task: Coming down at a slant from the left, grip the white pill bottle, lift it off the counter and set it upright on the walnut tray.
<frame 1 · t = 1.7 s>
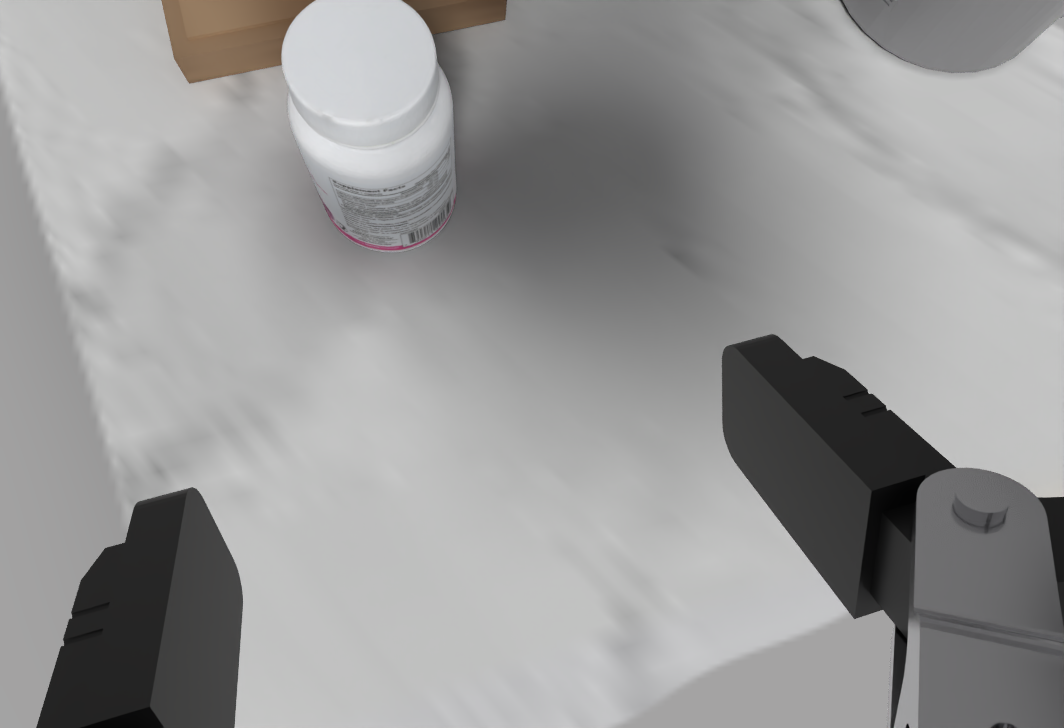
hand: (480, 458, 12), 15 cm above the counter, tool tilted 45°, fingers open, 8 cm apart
pill bottle: (391, 196, 29), on the counter
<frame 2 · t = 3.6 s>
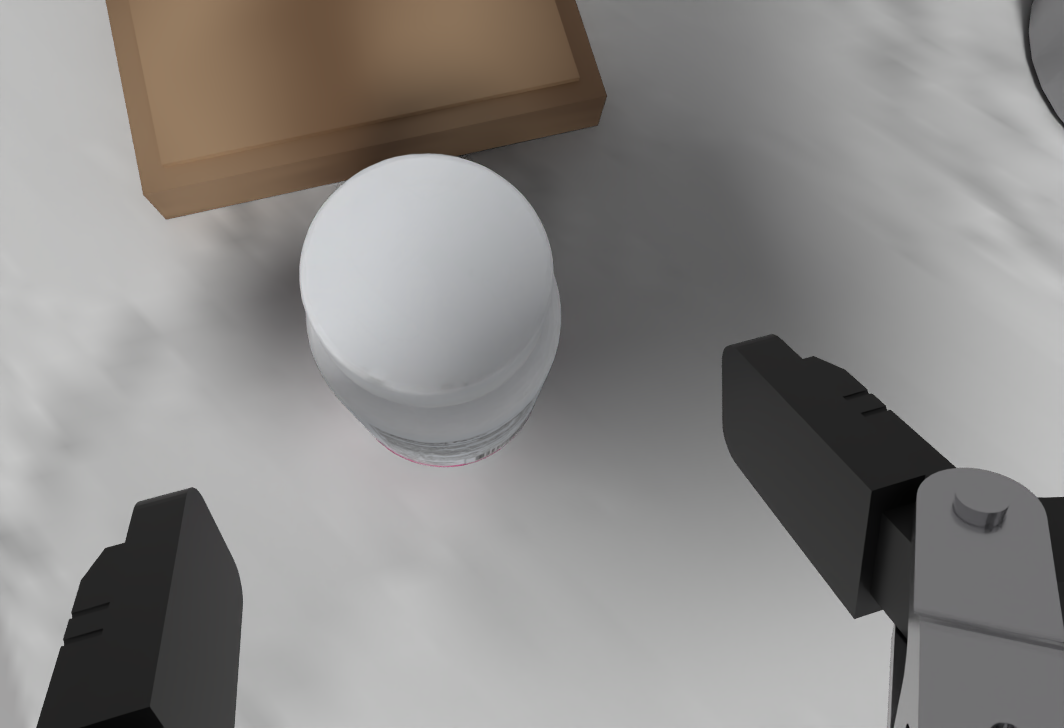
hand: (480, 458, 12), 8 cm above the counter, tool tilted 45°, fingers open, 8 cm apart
walnut tray: (348, 14, 23), on the counter
pill bottle: (445, 379, 21), on the counter
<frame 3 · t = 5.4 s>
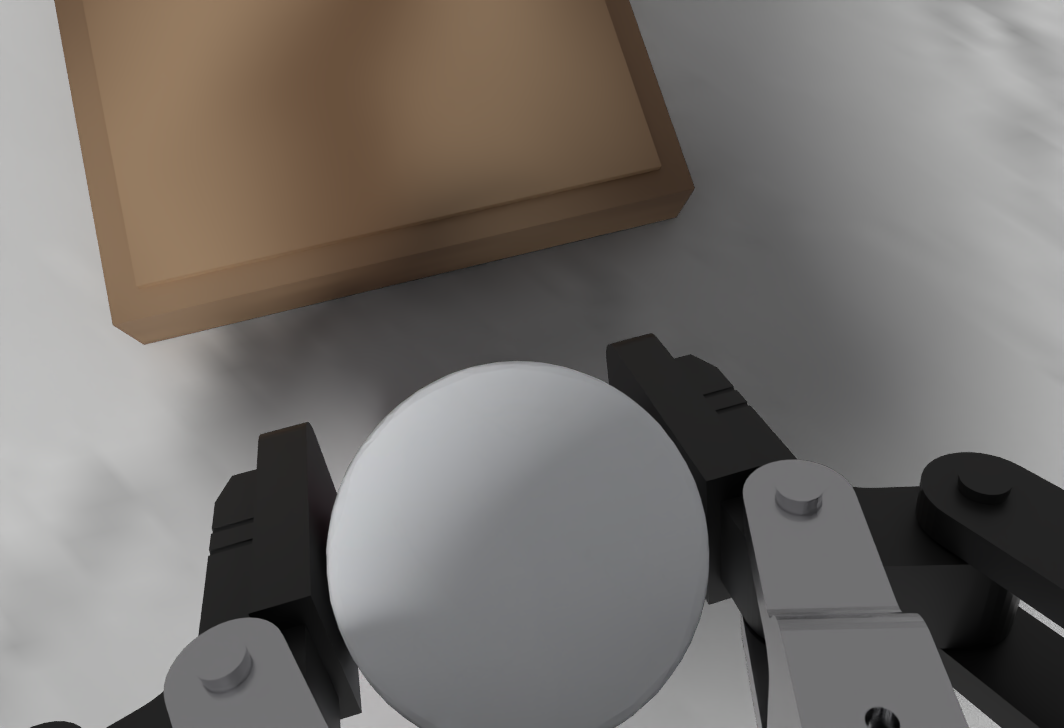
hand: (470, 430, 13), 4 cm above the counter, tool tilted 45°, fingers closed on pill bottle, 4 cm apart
walnut tray: (370, 80, 18), on the counter
pill bottle: (494, 545, 16), on the counter, touching gripper
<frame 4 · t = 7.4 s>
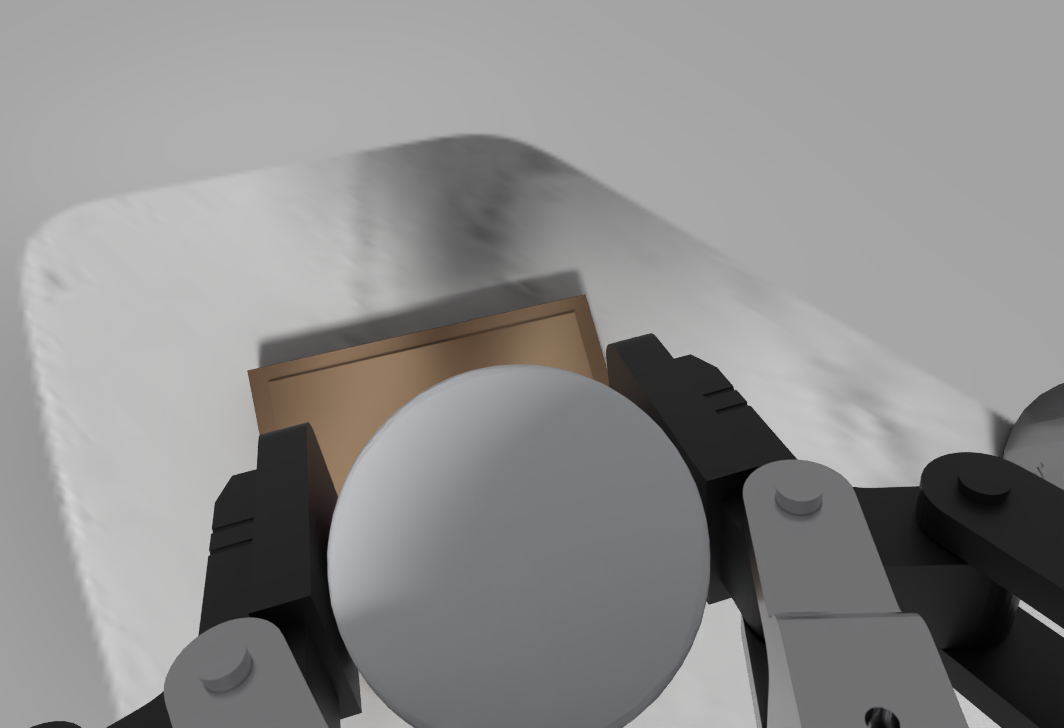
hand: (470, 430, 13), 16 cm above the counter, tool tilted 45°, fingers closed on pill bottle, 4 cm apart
walnut tray: (455, 474, 28), on the counter
pill bottle: (494, 547, 16), point 11 cm above the counter, touching gripper
when the fingers open (7 cm above the counter, at t = 9.7 s): pill bottle drops 1 cm, resting on walnut tray.
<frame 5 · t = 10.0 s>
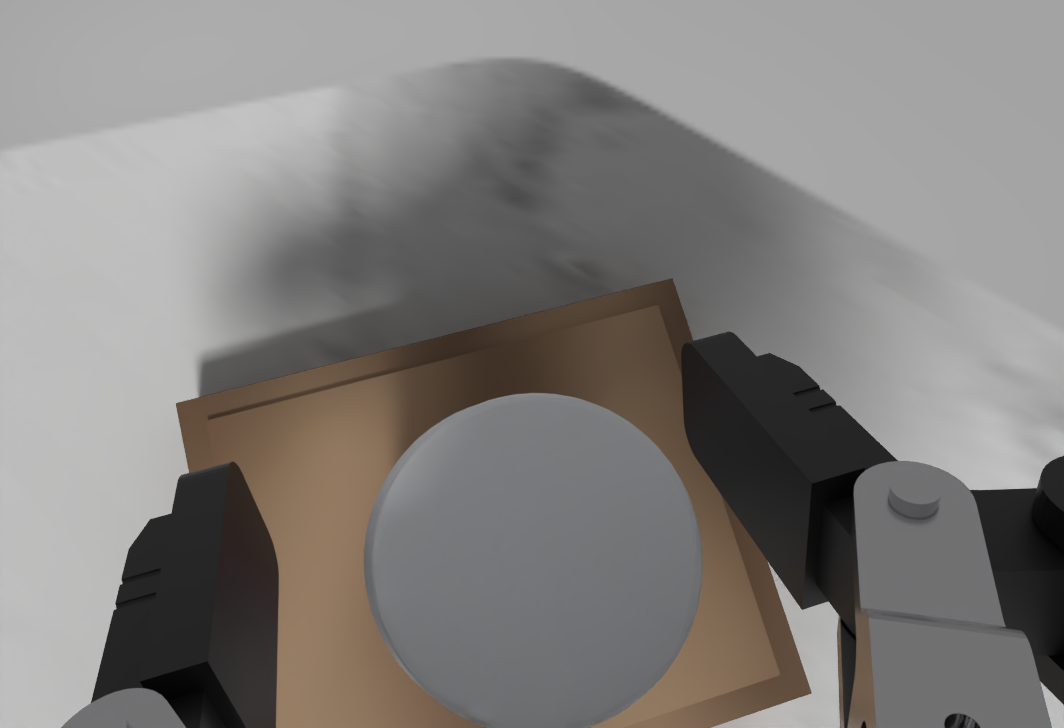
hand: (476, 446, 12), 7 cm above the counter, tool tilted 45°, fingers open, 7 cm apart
walnut tray: (489, 547, 19), on the counter
pill bottle: (502, 553, 18), point 1 cm above the counter, touching walnut tray
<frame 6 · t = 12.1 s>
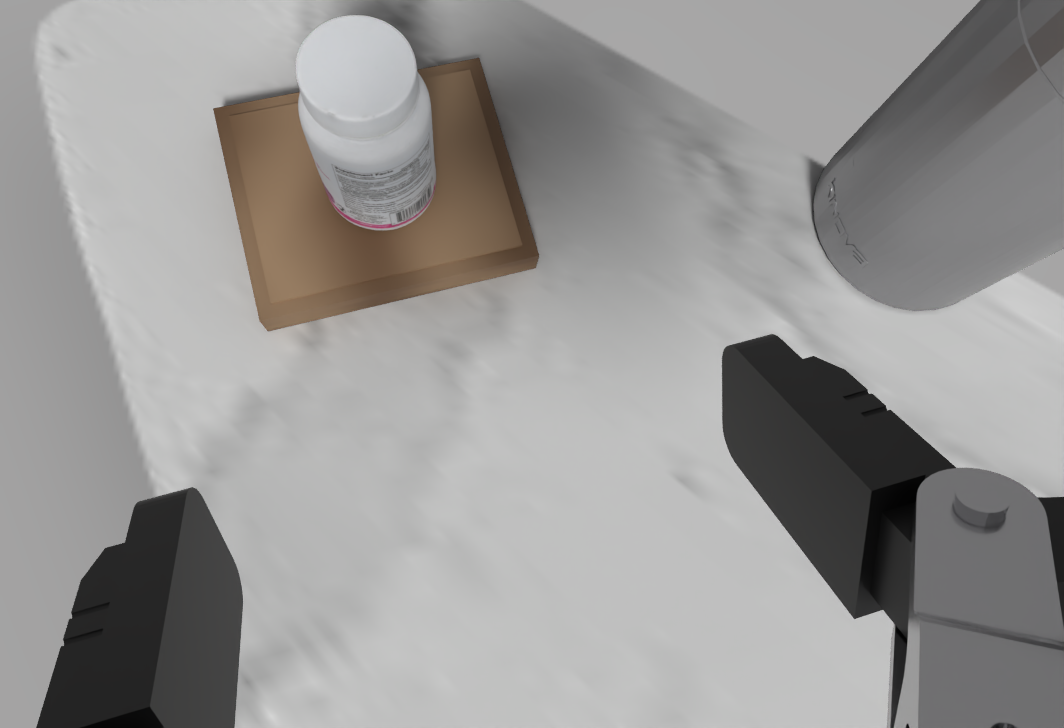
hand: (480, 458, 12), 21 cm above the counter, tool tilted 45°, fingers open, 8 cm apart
walnut tray: (378, 197, 36), on the counter
pill bottle: (381, 185, 34), point 1 cm above the counter, touching walnut tray
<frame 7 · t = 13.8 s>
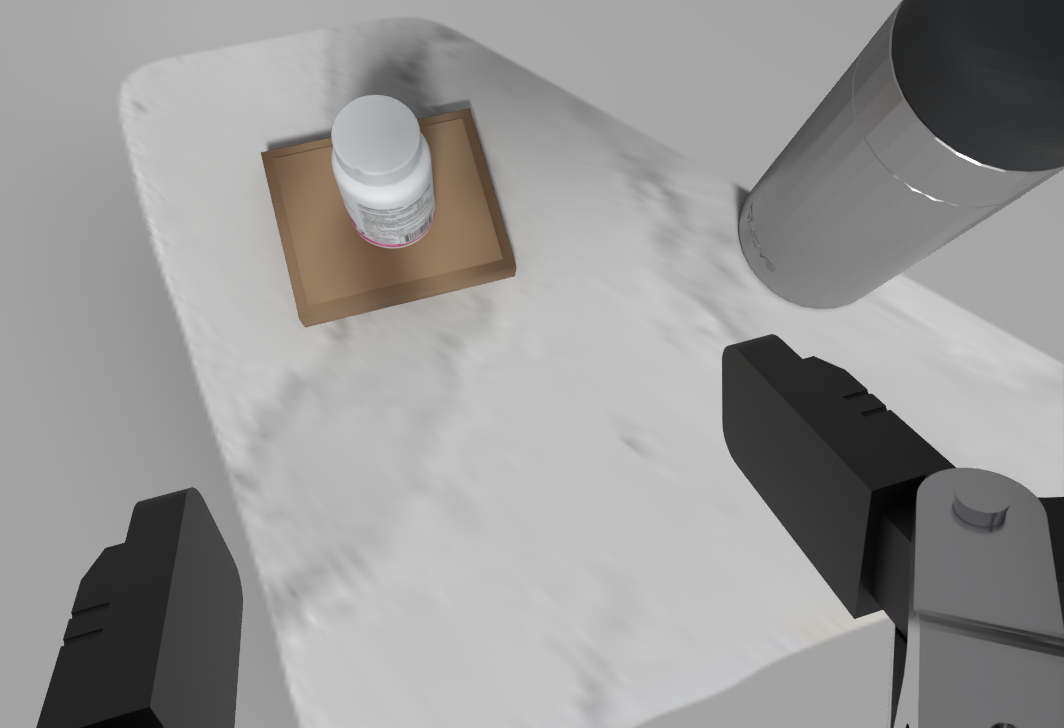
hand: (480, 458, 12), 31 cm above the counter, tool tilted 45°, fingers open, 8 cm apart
walnut tray: (390, 220, 45), on the counter
pill bottle: (392, 212, 44), point 1 cm above the counter, touching walnut tray
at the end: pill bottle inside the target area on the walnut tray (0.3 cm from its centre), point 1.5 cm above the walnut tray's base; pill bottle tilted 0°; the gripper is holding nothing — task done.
